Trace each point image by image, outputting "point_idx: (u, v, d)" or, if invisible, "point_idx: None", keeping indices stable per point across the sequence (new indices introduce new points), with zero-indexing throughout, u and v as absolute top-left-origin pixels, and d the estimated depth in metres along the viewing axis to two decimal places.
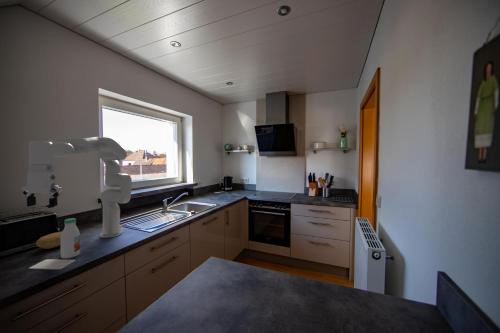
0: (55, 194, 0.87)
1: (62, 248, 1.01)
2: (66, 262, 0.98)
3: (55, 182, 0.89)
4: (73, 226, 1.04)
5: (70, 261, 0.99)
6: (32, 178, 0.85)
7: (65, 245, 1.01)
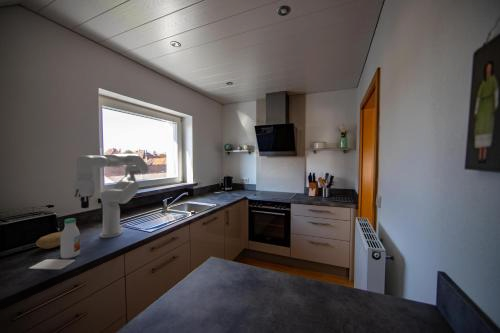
0: (89, 197, 1.16)
1: (62, 248, 1.01)
2: (66, 262, 0.98)
3: None
4: (73, 226, 1.04)
5: (70, 261, 0.99)
6: (87, 184, 1.12)
7: (65, 245, 1.01)
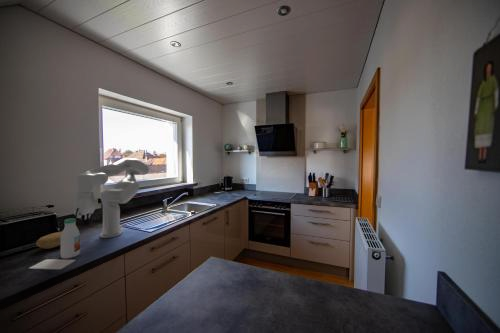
0: (90, 214, 1.17)
1: (62, 248, 1.01)
2: (66, 262, 0.98)
3: None
4: (73, 226, 1.04)
5: (70, 261, 0.99)
6: (87, 202, 1.13)
7: (65, 245, 1.01)
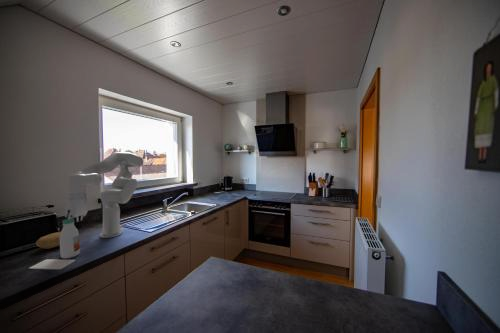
0: None
1: (61, 248, 1.01)
2: (66, 262, 0.98)
3: None
4: (72, 226, 1.04)
5: (70, 261, 0.99)
6: (79, 204, 1.07)
7: (65, 245, 1.01)
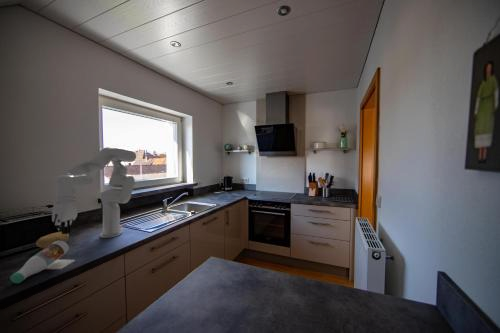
0: (71, 221, 1.04)
1: None
2: (66, 262, 0.98)
3: None
4: (29, 273, 0.84)
5: (70, 261, 0.99)
6: (68, 207, 1.00)
7: None
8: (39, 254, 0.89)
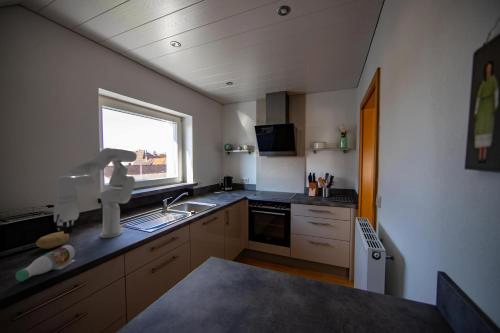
0: None
1: None
2: (66, 262, 0.98)
3: None
4: (33, 274, 0.85)
5: (70, 261, 0.99)
6: (69, 208, 1.01)
7: None
8: (50, 256, 0.91)
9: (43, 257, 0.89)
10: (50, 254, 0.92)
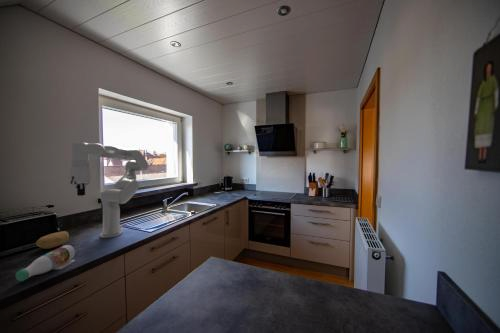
0: (85, 185, 1.15)
1: None
2: (66, 262, 0.98)
3: None
4: (33, 274, 0.85)
5: (70, 261, 0.99)
6: (83, 171, 1.11)
7: None
8: (50, 256, 0.91)
9: (43, 257, 0.89)
10: (50, 254, 0.92)
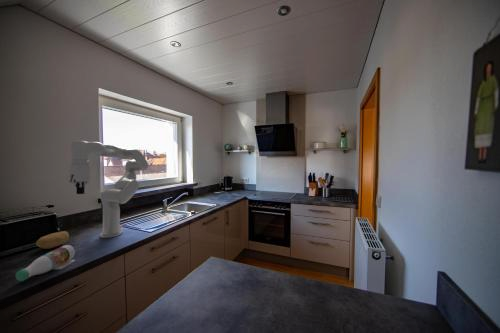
0: None
1: None
2: (66, 262, 0.98)
3: None
4: (33, 274, 0.85)
5: (70, 261, 0.99)
6: (82, 170, 1.11)
7: None
8: (50, 256, 0.91)
9: (43, 257, 0.89)
10: (50, 254, 0.92)
